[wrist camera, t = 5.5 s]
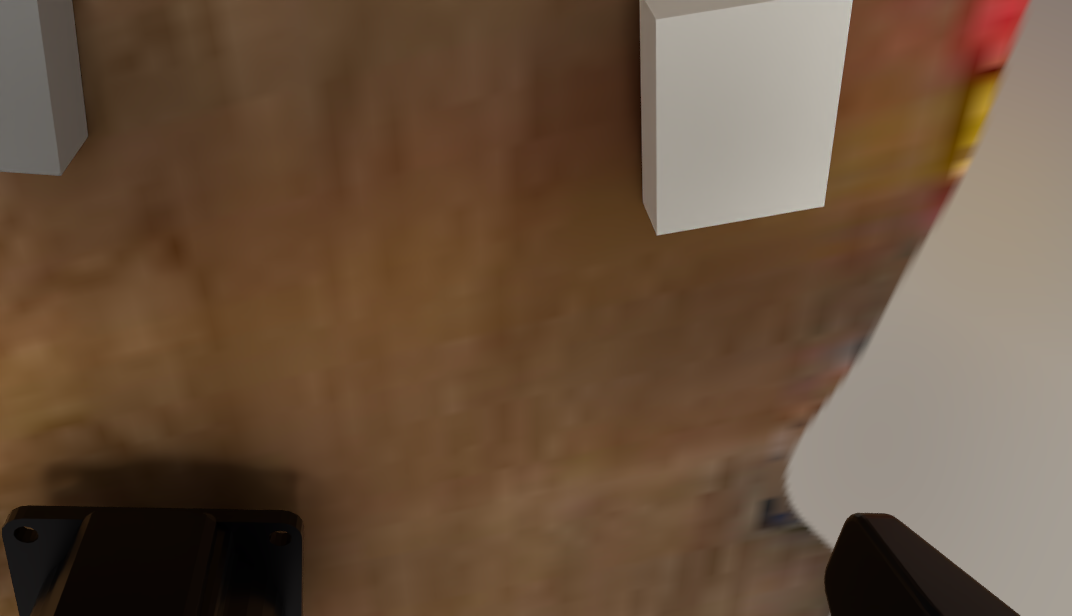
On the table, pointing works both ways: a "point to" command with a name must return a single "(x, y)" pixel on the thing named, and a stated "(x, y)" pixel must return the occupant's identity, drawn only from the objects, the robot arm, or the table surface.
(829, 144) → the eraser
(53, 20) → the tall grey pillar
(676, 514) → the table surface
